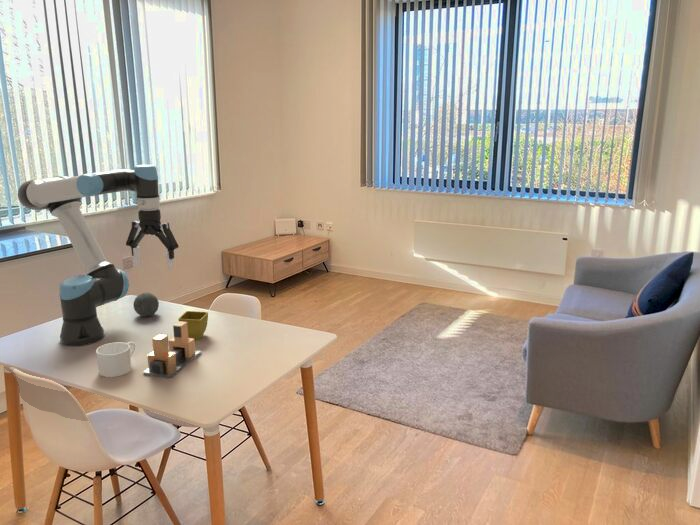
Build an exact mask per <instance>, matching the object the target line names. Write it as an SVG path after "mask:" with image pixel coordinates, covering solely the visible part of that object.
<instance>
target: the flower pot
mask: <svg viewBox="0 0 700 525" xmlns="http://www.w3.org/2000/svg"><path fill="white" fill-rule="evenodd" d="M208 317H209V312H208V311H196V310H195V311H194V310H186V311H185V312H184V313H183V314H181V316H179V317H178V322H179V321H182V322H187V326H188V338H193V339H194V340H195V341H196V340H200V339H201V338H202V337H203V335H204V334H205V332H206V330H207V326H208V319H209V318H208Z"/></svg>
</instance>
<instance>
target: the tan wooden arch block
mask: <svg viewBox="0 0 700 525" xmlns="http://www.w3.org/2000/svg"><path fill="white" fill-rule="evenodd" d="M172 328H173V337H172V338H170V339H168V344H169V346H168V348H169V352H170V351H172V350H173V349H175V348H176V347H182V348H185V357H188V358H190V357H191V356H192V355H194V354H195V350H196V344H195V343H196V339H193V338H188V326H187V322H182V321H179V320H178V322H176V323H174V325H173V326H172Z"/></svg>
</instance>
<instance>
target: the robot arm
mask: <svg viewBox="0 0 700 525" xmlns="http://www.w3.org/2000/svg"><path fill="white" fill-rule="evenodd" d="M125 191H128V192H129V191H131V192H136V201H137V208H138V211H137V213H138V220H134V221H131V227H130V232H129V234H128V237H127V238H126V239H127V240H126V241H125V246H126V247H127V246H129V247H130V248H131V249H130V250H131V256H133V263H134V264H133V265H134V266H138V265H141V264H142V262H141V253H140V246H139V244H140V242H141V241H142V239H143V238H144V237H145V235H151V236H155V237H156V238H158V239H159V241H160V242H161V243H162V244H163V246H164V247H165V248H166V251H165V255H166V257H165V258H166V268H167V269H171V268H173V267H174V259H175V250H176V249H178V248H179V247H180V246H179V244H178V242H177V240H176V238H175V237H174V234H173V232H172V230H171V228H170V223H169V222H163V223H162V222H161V217H162V216H161V209H160V207H161V202H160V193H159V192H160V191H159V176H158V168H157V166H155V165H153V164H138V165H135V166H134V169H126V168H113V169H112V170H110V171H100V172H99V171H98V172H87V173H84V174H80V175H77V176H76V175H75V176H70V177H69V176H60V175H59V176H53V177H45V178H38V179H37V178H35V179H30V180H27V181H25V182H23V183H22V184H21V185H20V186H19V188H18V190H17V198H18V201H19V202H20V204H21V205H22V206H23V207H25V208H26V209H29V210H33V211H41V210H48V211H49V213H50V214H51V216H53V217H55V218H57V220H58V221H59V223H60V225H61V227H62V228H63V230H64V232H65V234H66V235H67V236H66V237H68V238H67V239H68V240H69V242H70V243H71V245H72V247H73V249H74V251H75V253H76V255H77V256H78V258H79V261H80V262H81V264H82V266H83V268H84V270H85V273H84V274H80V275H79V274H78V275H75V276H70V277H68V278H66V279H64V280H63V281H61V282H60V284H59V288H58V290H59V291H58V292H59V294H58V295H59V298H60V307H61V315H62V325H61V330H60V334H59V339H60V340H59V341H60V343H61V345H65V346H69V347H70V346H71V347H75V346H76V347H77V346H79V347H80V346H86V345H90V344H95V343H96V342H99V341H101V340H102V339H103V338H104V337H105V330H104V327H103V326H102V325H101V322H100V320H99V317H98V311H97V308H98V307H102V306H104V305H107V304H110V303H112V302H116V301H118V300H119V299H122V298H124V297H125V296H126V295H127V294H128V292H129V288H130V281H129V278H128V275H127V274H126V272H125V271H124V270H122V269H120V268H116V267H115V264H114V263H113V262H109V261H108V260H107V258H106V256H105V255H104V253H103V250H102V248H101V247H100V245H99V242H98V241H97V238H96V237H95V235H94V233H93V232H92V230H91V227H90V226H89V224H88V222H87V221H86V219H85V217H84V215H83V213H82V211H81V206H82V203H81V201H82V200H83V198H87V197H88V198H89V197H94V196H100V195H106V194H113V193H119V192H125ZM139 228H140V230H139ZM138 230H139V231H138ZM137 233H138V234H137Z"/></svg>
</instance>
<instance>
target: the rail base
mask: <svg viewBox="0 0 700 525" xmlns="http://www.w3.org/2000/svg"><path fill="white" fill-rule="evenodd" d="M152 349H153V350H152V351H151V352H149V354H147V364H148V365H147V366H148V367H147V368H146V369H145V370H144V371H143V372H142V373H143V375H144V376H150V377H157V378H163V379H172V378H174V376H176V375H177V374H178V373H179V372H181V371H182V370H183V369H184V368H185V367H187V366H188V365H189V364H191V363H192V362H193V361H194V360H196V359H197V358H199V356H201V355H202V350H196V349H195V354H194V355H192V356H191V357H190V358H188V357H185V348H182V347H176V348H175V349H173V350H172V351H170V352H169V335H168V334H167V333H160V334H158V335H156V336H154V337H153V338H152Z"/></svg>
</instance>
